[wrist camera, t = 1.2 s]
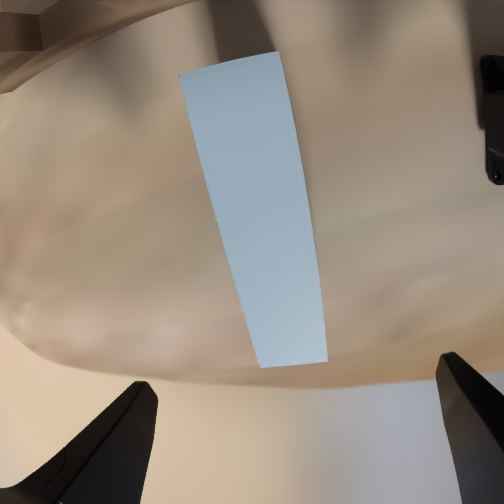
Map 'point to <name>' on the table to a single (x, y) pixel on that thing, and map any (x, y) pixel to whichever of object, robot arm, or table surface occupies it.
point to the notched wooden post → (63, 33)
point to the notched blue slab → (260, 202)
